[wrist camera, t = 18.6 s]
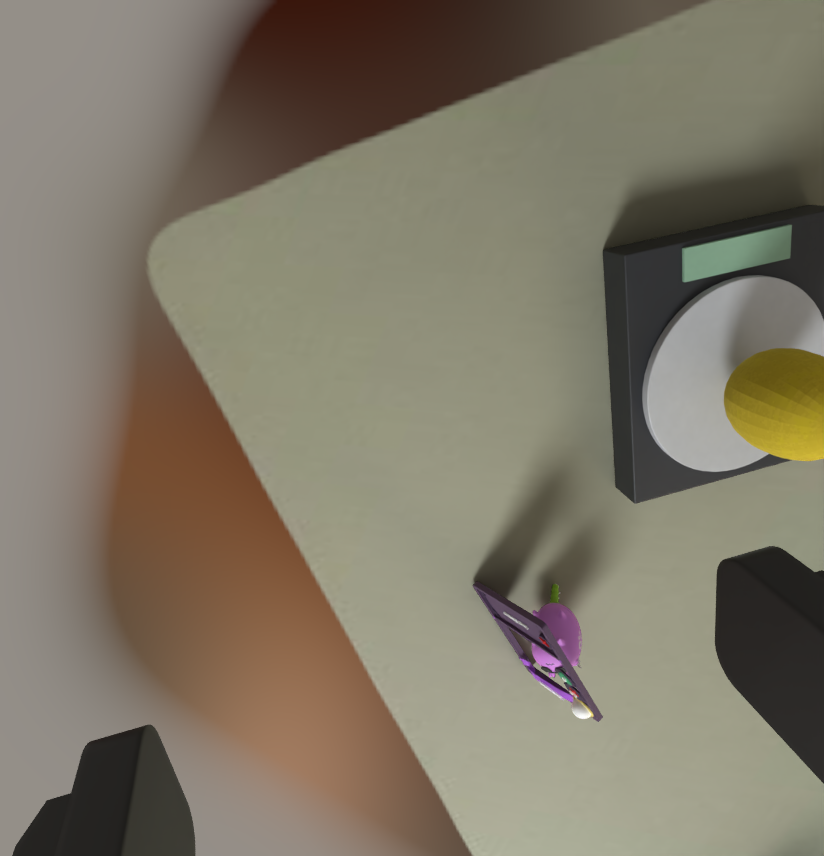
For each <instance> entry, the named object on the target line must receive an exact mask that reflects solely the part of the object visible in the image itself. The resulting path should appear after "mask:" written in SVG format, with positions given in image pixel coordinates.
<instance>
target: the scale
mask: <svg viewBox="0 0 824 856" xmlns="http://www.w3.org/2000/svg"><path fill="white" fill-rule="evenodd" d="M603 262H604V281H605V299H606V318H607V336H608V355H609V373H610V392H611V411H612V429H613V448H614V466H615V485H616V488H617V489H618V490H620V491H621V492H622V493H623V494H624V495H625V496H626V497H628V498H629V499H630V500H631V501H632V502H633V503H640V502H643V501H647V500H650V499H654V498H657V497H661V496H665V495H668V494H672V493H675V492H679V491H683V490H686V489H690V488H693V487H697V486H701V485H704V484H708V483H711V482H715V481H719V480H722V479H726V478H729V477H733V476H737V475H740V474H744V473H747V472H751V471H755V470H758V469H762V468H765V467H769V466H773V465H776V464H780V463H783V462H787V461H791V459H785V458H781V457H777V456H774V455H772V454H769V453H767V452H764V451H762V450H760V449H758V448H756V447H754V446H752V445H751V444H750V443H748V442H747V441H746V440H745V439H744V438H743V437H741V436H740V435H739V434H738V433H737V432H736V431H735V430H734V428H733V427H732V425H731V423H730V421H729V420H728V418H727V416H726V412H725V407H724V391H725V387H726V384H727V381H728V379H729V377H730V376H731V374H732V373H733V371H734V370H735V369H736V367H737V366H739V365H740V364H741V363H742V362H743V361H744V360H746V359H747V358H749V357H751V356H753V355H754V354H756V353H759V352H762V351H766V350H769V349H774V348H795V349H801V350H805V351H809V352H812V353H815V354H818V355H821V356H823V357H824V206H817V205H807V206H802V207H797V208H793V209H788V210H784V211H779V212H774V213H770V214H765V215H761V216H756V217H751V218H747V219H742V220H738V221H733V222H728V223H724V224H719V225H715V226H710V227H705V228H701V229H696V230H692V231H687V232H682V233H678V234H673V235H669V236H664V237H659V238H655V239H650V240H646V241H641V242H636V243H632V244H627V245H623V246H618V247H614V248H609V249H605V250H603Z"/></svg>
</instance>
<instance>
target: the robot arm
mask: <svg viewBox="0 0 824 856" xmlns="http://www.w3.org/2000/svg"><path fill="white" fill-rule="evenodd" d="M715 646H716V652H717V656H718V659H719V662H720V664H721V666H722V668H723V670H724V672H725V674H726V676H727V677H728V679H729V680H730V682H731V683H732V685H733V686H734V687H735V688H736V689H737V690H738V691H739V692H740V694H741V695H742V696H743V697H744V698H745V699H746V700H747V701H748V702H749V703H750V704H751V705H752V707H753V708H754V709H755V710H756V711H757V712H758V713H759V714H760V715H761V716H762V717H763V718H764V720H765V721H766V722H767V723H768V724H769V725H770V726H771V727H772V728H773V729H774V730H775V731H776V733H777V734H778V735H779V736H780V737H781V738H782V739H783V740H784V741H785V742H786V743H787V744H788V746H789V747H790V748H791V749H792V750H793V751H794V752H795V753H796V754H797V755H798V756H799V757H800V759H801V760H802V761H803V762H804V763H805V764H806V765H807V766H808V767H809V768H810V769H811V770H812V772H813V773H814V774H815V775H816V776H817V777H818V778H819V779H820V780H821V781H822V782H823V783H824V571H822V570H821V571H818V572H814V571H812V570H811V569H809V568H808V567H807V566H805V565H804V564H803V563H801V562H800V561H798V560H797V559H796V558H794V557H793V556H792V555H790V554H789V553H787V552H786V551H784V550H783V549H781V548H779V547H775V546H769V547H766V548H762V549H759V550H755V551H752V552H748V553H745V554H742V555H738V556H735V557H731V558H728V559H725V560H723V561H721V562H720V564H719V566H718V569H717V587H716V622H715ZM12 856H195V835H194V827H193V821H192V816H191V812H190V808H189V805H188V802H187V800H186V798H185V796H184V793H183V791H182V788H181V786H180V783H179V782H178V779H177V777H176V774H175V772H174V769H173V767H172V765H171V763H170V760H169V758H168V755H167V753H166V751H165V748H164V746H163V744H162V741H161V739H160V737H159V735H158V732H157V731H156V729H155V728H154V727H153V726H152V725H146V726H142V727H139V728H135V729H132V730H128V731H125V732H122V733H118V734H115V735H111V736H108V737H104V738H101V739H98V740H94V741H91V742H89V743H88V744H87V745H86V746H85V748H84V750H83V753H82V756H81V759H80V763H79V767H78V770H77V774H76V778H75V781H74V785H73V789H72V792H71V793H70V794H67V795H64V796H60V797H57V798H54V799H50V800H47V801H46V803H45V804H44V806H43V807H42V808H41V810H40V811H39V813H38V814H37V816H36V817H35V819H34V820H33V822H32V823H31V825H30V826H29V827H28V829H27V830H26V832H25V833H24V835H23V836H22V837H21V839H20V840H19V842H18V843H17V845H16V847H15V850H14V852H13V855H12Z"/></svg>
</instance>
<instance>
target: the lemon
mask: <svg viewBox="0 0 824 856" xmlns="http://www.w3.org/2000/svg"><path fill="white" fill-rule="evenodd" d="M724 407H725V412H726V416H727V418H728V420H729V421H730V423H731V425H732V427H733V428H734V430H735V431H736V432H737V433H738V434H739V435H740V436H741V437H743V438H744V439H745V440H746V441H747V442H748V443H750V444H751V445H752V446H754V447H756V448H758V449H760V450H762V451H764V452H767V453H769V454H772V455H774V456H777V457H781V458H785V459H791V460H800V461H813V460H818V459H824V357H823V356H821V355H818V354H815V353H812V352H809V351H805V350H801V349H795V348H774V349H769V350H766V351H762V352H759V353H756V354H754V355H753V356H751V357H749V358H747V359H746V360H744V361H743V362H742V363H741V364H740V365H739V366H737V367H736V369H735V370H734V371H733V373H732V374H731V376H730V377H729V379H728V381H727V384H726V387H725V391H724Z"/></svg>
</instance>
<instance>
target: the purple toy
mask: <svg viewBox="0 0 824 856" xmlns="http://www.w3.org/2000/svg"><path fill="white" fill-rule="evenodd" d="M473 587H474V589H475V590H476V592H477V593H478V595H479V596H480V598H481V599H482V601H483V603H484V604H485V606H486V607H487V609H488V610H489V612H490V613H491V615H492V616H493V618H494V619H495V621H496V622H497V624H498V625H499V627H500V629H501V630H502V632H503V633H504V635H505V636H506V638H507V639H508V641H509V642H510V644H511V645H512V647H513V648H514V650H515V651H516V653H517V654H518V656H519V658H520V659H521V661H522V662H523V664H524V665H525V667H526V668H527V670H528V671H529V672H530V673H531V674H532V675H533V676H534V678H535V679H536V680H538V681H539V682H540V684H542V685H544V687H546V688H547V689H548V690H550V691H551V692H552V693H554V694H555V695H557V696H558V697H560V699H561V700H564V699H562V697H563V698H565V699H566V700H568V701H570V702H571V703H572V711H573V713H574V715H575V716H577V717H578V718H581V719H586V718H588V717H592V718H593V719H595V720H596V721H598V722H599V721H600V720H601V719H602V718H603V716H602V715H601V713H600V711H599V710H598V708H597V706H596V705H595V703H594V701H593V700H592V698H591V697H590V695H589V693H588V692H587V690H586V688H585V687H584V685H583V683H582V682H581V680H580V678H579V677H578V675H577V674H576V672H575V670H574V669H573V667H572V666H576V665H577V666H578V667H580V668H581V665H580V664H579V662H580V661H579V655H580V652H581V647H582V635H581V630H580V626H579V623H578V621H577V619H576V617H575V615H574V614H573V613H572V611H571V610H570V609H568V608H567V607H566V606H564V605H561V604H560V603H559V601H558V600H559V598H560V597H558V594H560V592H558V588H559V586H558V585H557V584H553V585H552V590H551V597H550V603H549V604H546V605H544V606H543V607H542V608H541V609H540V610H539V612H536V611H535V610H533V615H532V614H531V613H529V612H527V611H526V610H524V609H522V608H521V607H519V606H517V605H516V604H514V603H512V602H511V601H509V600H507V599H506V598H504V597H502V596H501V595H499V594H498V593H496V592H494V591H493V590H491V589H489V588H488V587H486V586H484V585H483V584H481V583H479V582H478V581H476V582H475V583H474V584H473ZM508 627H509V628H510V629H512V630H513V631H515V632H516V633H518V634H519V635H521V636H522V637H524V638H525V639H527V640H528V641H530V642H531V643H532V653H533V657H534V659H535V660H536V662H537V663H538V664H539V665H540V666H541V669H542V670H544V671H545V672H549V677H550V678H551V676H553V677H555V673H558V675H559V676H560V677H561V678H562V679H563V680H564V681H565V682H564V684H565V686H566V687H567V689H568V691H567V690H566V689H564V688H563V687H562V686H560V685H559V684H557V683H556V682H554V681H553V680H552V679H550V678H549V677H547V676H546V675H545V674H543V673H542V672H540V671H539V670H537V669H536V668H535V667H534V666H533V665H532V664H531V662H530V660H529V659H528V657H527V656H526V654H525V653H524V651H523V650H522V648H521V646H520V645H519V643H518V642H517V640H516V639H515V637H514V636H513V634H512V633H511V631H510V629H509V628H508ZM575 687H576V688H577V689H576V688H575Z"/></svg>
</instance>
